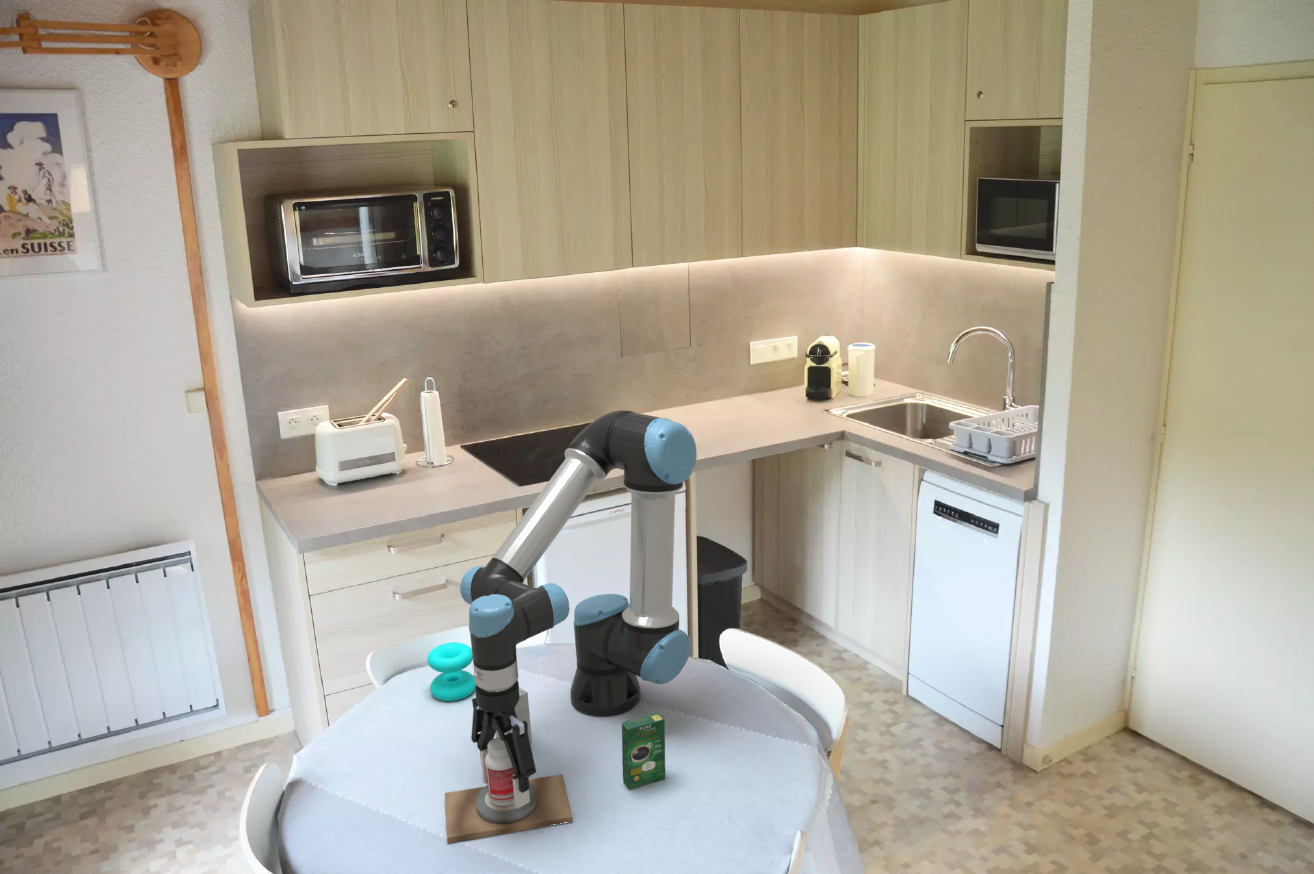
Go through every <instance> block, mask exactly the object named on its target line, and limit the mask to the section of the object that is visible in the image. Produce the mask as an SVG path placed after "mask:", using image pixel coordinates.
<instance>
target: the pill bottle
mask: <svg viewBox="0 0 1314 874" xmlns="http://www.w3.org/2000/svg"><path fill="white" fill-rule="evenodd" d="M485 769H486V778H487V784H486V786H487V788H488V797H489V800H490V801H491V802H492V803H493V804H495V805H498V806H507V805H511V804H514V803H515V801H514V789H513V778H512V775H514V774H515V772H514V769H513V766H512V763H511V760H510V758H509V755H508V752H507V749H506V746H505V743H504V741H501V740H500V737H498V738H496V737H494V739H492V740H491V741H490V742H489V743H488V754H487V755H486V757H485Z"/></svg>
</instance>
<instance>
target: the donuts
mask: <svg viewBox="0 0 1314 874" xmlns="http://www.w3.org/2000/svg"><path fill="white" fill-rule="evenodd" d="M426 659H427V660H426V661H427V665H428V666H429V667H430V668H431V669H432V670H434V671H436V672H438V673H439V674H438V675H437V676H435V677H434V679H432V681H431V683H430V688H429V689H430V692H431V695H432V696H433V697H434V698H436V699H438V700H441V701H444V702H446V701H447V702H455V701H459V700H463V699H465V698H467V697H469V696H470V695H472V694H473V693H474V691H476V690H475V686H476V684H475V678H474V674H472V673H471V672H469V671H466V670H464V669H465V668H467V667H468V666H470V664H471V663H473V656H472V646H470V645H468V644H465V643H463V642H457V641H456V642H447V643H446V642H445V643H442V644H440V645H438V646H435V647H434V648H432V649H431V650H430V651H429V653H428V655H427V658H426Z"/></svg>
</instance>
